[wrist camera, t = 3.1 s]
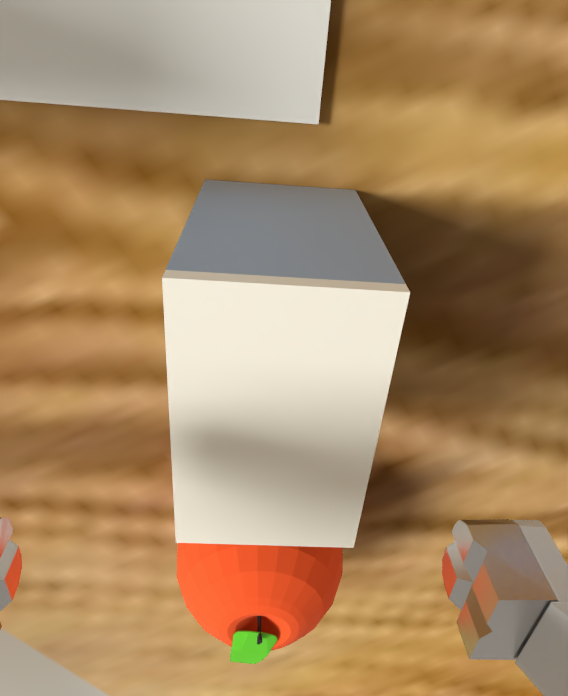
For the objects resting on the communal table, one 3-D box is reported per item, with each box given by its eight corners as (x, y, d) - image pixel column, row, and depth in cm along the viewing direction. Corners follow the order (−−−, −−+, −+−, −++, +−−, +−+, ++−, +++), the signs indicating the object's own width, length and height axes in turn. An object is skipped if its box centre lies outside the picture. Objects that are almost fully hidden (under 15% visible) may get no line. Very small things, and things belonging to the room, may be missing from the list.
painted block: (354, 189, 17) (410, 292, 11) (327, 384, 22) (353, 547, 15) (205, 179, 17) (162, 277, 10) (205, 378, 21) (175, 542, 14)
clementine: (304, 562, 28) (314, 712, 21) (174, 542, 26) (145, 695, 20) (353, 452, 24) (383, 599, 17) (202, 424, 22) (177, 570, 16)
